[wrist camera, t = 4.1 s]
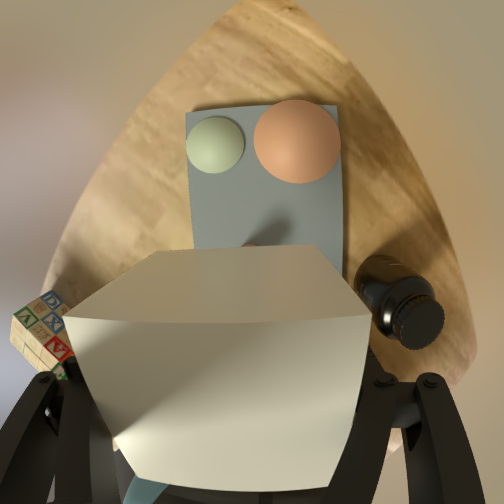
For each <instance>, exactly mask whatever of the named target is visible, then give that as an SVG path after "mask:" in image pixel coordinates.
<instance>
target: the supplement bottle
mask: <svg viewBox="0 0 504 504" xmlns="http://www.w3.org/2000/svg"><path fill="white" fill-rule="evenodd" d="M354 292H355V293H356V294H357V296H358V297H359V298H360V299H361V301H362V302H363V303H364V304H365V306H366V307H367V308H368V309H369V311H370V312H371V313H372V319H371V320H372V321H373V323H374V324H375V326H376V327H377V329H378V330H379V331H380V332H381V334H383V335H384V336H385V337H387V338H389V339H392V340H399V341H400V342H401V344H402V345H403V346H405V347H406V348H409V349H410V350H411V349H413V350H419V349H422V348H424V347H427V346H428V345H429V344H431V343H432V342H433V341H434V340H435V339H436V338H437V337H438V335H439V333H440V332H441V330H442V328H443V325H444V320H445V317H444V316H445V314H444V310H443V309H442V306H441V305H440V304H439V303H438V302H437V301H436V300H435V294H434V290H433V288H432V286H431V284H430V283H429V282H428V281H427V280H426V279H425V278H423V277H422V276H420V275H419V274H417V273H416V272H415V271H413V270H412V269H410V268H409V267H407V266H406V265H404V264H403V263H401V262H400V261H398V260H396V259H395V258H393V257H391V256H388V255H378V256H374V257H372V258H370V259H368V260H367V261H365V262H364V263H363V264H362V265H361V266H360V268H359V269H358V271H357V273H356V275H355V279H354Z"/></svg>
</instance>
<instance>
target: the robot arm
mask: <svg viewBox="0 0 504 504" xmlns="http://www.w3.org/2000/svg"><path fill="white" fill-rule="evenodd" d="M62 367H63V369H64V371H65V374H66V376H67V378H68V379H66V380H57V378H56V376H55V374H54V373H53V372H52V371H43V372H40V373H38V374H37V375H36V376H35V377H34V378H33V379H32V381H31V382H30V384H29V385H28V387H27V388H26V390H25V391H24V393H23V394H22V396H21V397H20V399H19V400H18V402H17V403H16V405H15V406H14V408H13V410H12V411H11V413H10V415H9V416H8V418H7V420H6V421H5V423H4V425H3V426H2V428H1V430H0V504H46V503H47V499H48V495H49V491H50V488H51V485H52V481H53V478H54V475H55V499H54V501H53V502H49V503H47V504H121V501H120V495H119V489H118V483H117V476H116V469H115V461H114V451H113V441H112V434H111V433H110V431H109V429H108V427H107V425H106V423H105V421H104V420H103V418H102V416H101V414H100V412H99V410H98V408H97V406H96V404H95V401H94V399H93V397H92V395H91V393H90V391H89V388H88V386H87V384H86V381H85V379H84V377H83V374H82V372H81V369H80V367H79V364H78V362H77V359H76V356H75V355H73V356H70V357H68V358H66V359H65V360H64V361H63V362H62ZM46 408H47V410H48V411H49V415H48V416H46V414H45V410H46ZM355 410H356V413H357V414H356V417H355V420H354V422H353V425H352V428H351V431H350V434H349V436H348V439H347V442H346V444H345V447H344V450H343V452H342V455H341V457H340V460H339V462H338V464H337V467H336V469H335V471H334V474H333V476H332V478H331V480H330V482H329V485H328V486H327V487H319V488H311V489H301V490H288V491H225V490H211V489H201V488H193V487H185V486H179V485H172V484H167V483H161V482H156V481H151V480H147V479H142V478H138V476H137V475H135V476H134V478H133V480H132V482H131V484H130V486H129V489H128V491H127V493H126V496H125V499H124V502H123V504H371V503H372V500H373V497H374V494H375V491H376V487H377V484H378V481H379V477H380V474H381V470H382V466H383V463H384V459H385V455H386V451H387V446H388V442H389V437H390V432H391V428H401V432H402V438H403V445H404V453H405V461H406V470H407V480H408V492H409V504H485V499H484V494H483V490H482V486H481V481H480V478H479V474H478V470H477V466H476V463H475V460H474V456H473V453H472V450H471V447H470V444H469V440H468V438H467V435H466V432H465V429H464V426H463V423H462V421H461V418H460V415H459V413H458V410H457V408H456V405H455V403H454V400H453V398H452V395H451V393H450V390H449V388H448V386H447V384H446V381H445V380H444V378H443V377H442V376H440V375H439V374H436V373H430V372H427V373H423V374H421V375H419V376H418V378H417V380H416V382H398V379H397V378H396V377H395V376H394V375H392V374H391V373H387V372H385V371H384V369H383V368H382V366H381V364H380V363H379V361H378V359H377V358H376V357H375V354H374V353H373V352H372V349H371V348H370V346H369V344H368V348H367V354H366V360H365V366H364V371H363V376H362V381H361V386H360V391H359V396H358V400H357V405H356V409H355Z"/></svg>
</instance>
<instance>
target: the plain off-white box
mask: <svg viewBox="0 0 504 504" xmlns="http://www.w3.org/2000/svg"><path fill="white" fill-rule="evenodd" d="M62 317H63V321H64V324H65V327H66V330H67V333H68V336H69V339H70V342H71V345H72V348H73V351H74V354H75V356H76V359H77V362H78V364H79V367H80V369H81V372H82V374H83V377H84V379H85V381H86V384H87V386H88V388H89V391H90V393H91V395H92V397H93V399H94V401H95V404H96V406H97V408H98V410H99V412H100V414H101V416H102V418H103V420H104V421H105V423H106V425H107V427H108V429H109V431H110V433H111V434H112V436H113V438H114V440H115V441H116V443H117V445H118V447H119V448H120V450H121V452H122V453H123V455H124V456H125V458H126V459H127V461H128V463H129V464H130V466H131V467H132V469H133V470H134V472H135V473H136V475H137V476H138V478H142V479H147V480H151V481H156V482H161V483H167V484H172V485H179V486H185V487H193V488H201V489H211V490H225V491H288V490H301V489H311V488H319V487H327V486H328V485H329V482H330V480H331V478H332V476H333V474H334V471H335V469H336V467H337V464H338V462H339V460H340V457H341V455H342V452H343V450H344V447H345V444H346V442H347V439H348V436H349V432H350V429H351V425H352V421H353V417H354V413H355V409H356V405H357V400H358V396H359V391H360V386H361V381H362V376H363V371H364V366H365V360H366V354H367V348H368V341H369V334H370V327H371V319H372V313H371V312H370V311H369V309H368V308H367V307H366V306H365V304H364V303H363V302H362V301H361V299H360V298H359V297H358V296H357V294H356V293H355V292H354V291H353V290H352V288H351V287H350V286H349V285H348V283H347V282H346V281H345V280H344V279H343V277H342V276H341V275H340V274H339V273H338V271H337V270H336V269H335V268H334V267H333V265H332V264H331V263H330V262H329V261H328V260H327V258H326V257H325V256H324V255H323V254H322V252H321V251H320V250H319V249H318V248H317V247H316V246H315V244H297V245H274V246H252V247H231V248H210V249H189V250H169V251H156V252H155V253H153V254H152V255H150V256H149V257H147V258H145V259H144V260H142V261H141V262H139V263H138V264H136V265H135V266H133V267H132V268H130V269H129V270H127V271H126V272H124V273H123V274H121V275H120V276H118V277H117V278H115V279H114V280H112V281H111V282H109V283H108V284H106V285H105V286H104V287H102V288H101V289H99V290H98V291H96V292H95V293H93V294H92V295H91V296H89V297H88V298H86V299H85V300H84V301H82V302H81V303H79V304H78V305H77V306H75V307H74V308H72V309H71V310H70V311H68V312H67V313H65V314H64V315H63V316H62Z"/></svg>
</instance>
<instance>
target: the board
mask: <svg viewBox="0 0 504 504" xmlns="http://www.w3.org/2000/svg"><path fill="white" fill-rule="evenodd" d="M186 152H187V162H188V179H189V193H190V206H191V218H192V229H193V240H194V249H210V248H231V247H252V246H274V245H297V244H315V246H316V247H317V248H318V249H319V250H320V251H321V252H322V254H323V255H324V256H325V257H326V258H327V260H328V261H329V262H330V263H331V264H332V265H333V267H334V268H335V269H336V270H337V271H338V273H339V274H340V275H341V276H342V262H343V189H342V165H341V139H340V133H339V123H338V112H337V105H316V104H314V103H312V102H309V101H305V100H297V99H293V100H285V101H282V102H279V103H277V104H275V105H259V106H243V107H231V108H220V109H211V110H203V111H195V112H188V113H186Z"/></svg>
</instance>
